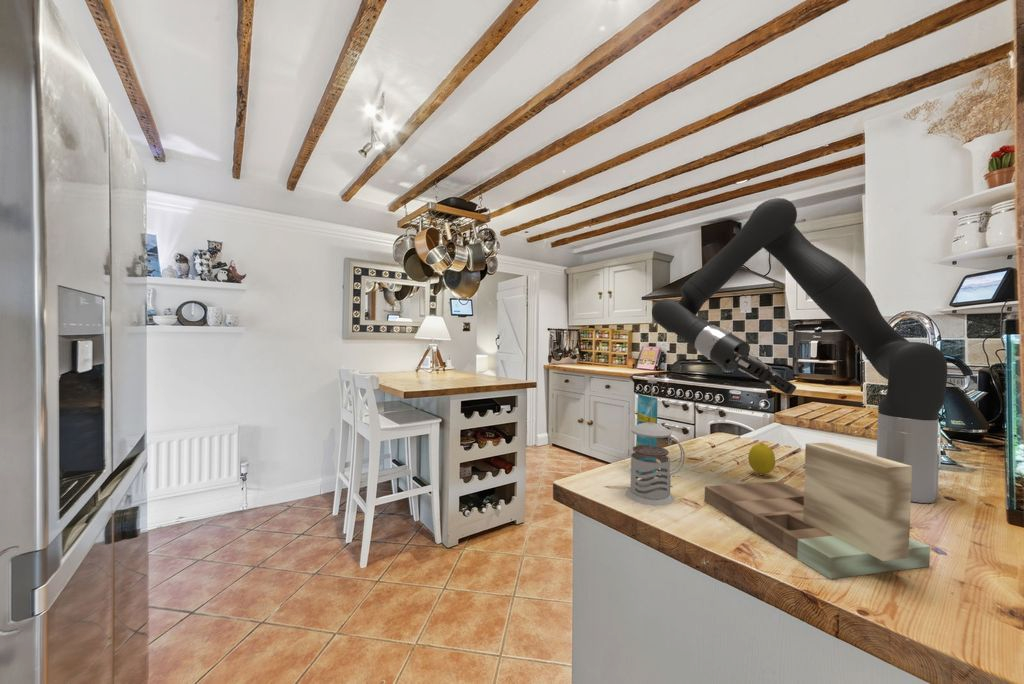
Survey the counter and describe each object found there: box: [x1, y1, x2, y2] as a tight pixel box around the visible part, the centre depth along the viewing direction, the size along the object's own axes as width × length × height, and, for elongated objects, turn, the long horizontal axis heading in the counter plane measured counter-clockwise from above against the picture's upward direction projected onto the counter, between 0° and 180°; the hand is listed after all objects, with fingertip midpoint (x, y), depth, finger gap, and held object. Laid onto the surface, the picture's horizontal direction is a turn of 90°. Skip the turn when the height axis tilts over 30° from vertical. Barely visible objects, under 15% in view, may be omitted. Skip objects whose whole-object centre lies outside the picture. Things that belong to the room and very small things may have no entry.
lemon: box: [748, 442, 776, 476], centre depth 96 cm, size 6×6×8 cm
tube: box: [635, 393, 658, 478], centre depth 95 cm, size 7×5×19 cm, turn 23°
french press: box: [625, 376, 686, 507], centre depth 82 cm, size 10×12×25 cm
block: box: [803, 442, 912, 561], centre depth 60 cm, size 4×12×13 cm, turn 11°
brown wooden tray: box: [704, 480, 931, 580], centre depth 69 cm, size 18×26×3 cm
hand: (792, 390), depth 78 cm, fingers closed
